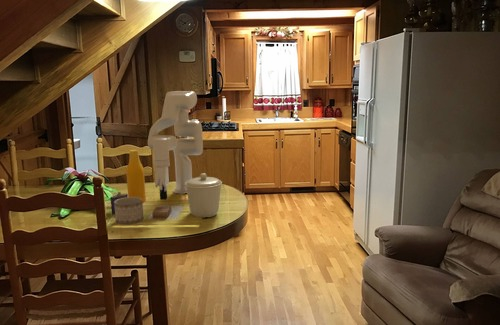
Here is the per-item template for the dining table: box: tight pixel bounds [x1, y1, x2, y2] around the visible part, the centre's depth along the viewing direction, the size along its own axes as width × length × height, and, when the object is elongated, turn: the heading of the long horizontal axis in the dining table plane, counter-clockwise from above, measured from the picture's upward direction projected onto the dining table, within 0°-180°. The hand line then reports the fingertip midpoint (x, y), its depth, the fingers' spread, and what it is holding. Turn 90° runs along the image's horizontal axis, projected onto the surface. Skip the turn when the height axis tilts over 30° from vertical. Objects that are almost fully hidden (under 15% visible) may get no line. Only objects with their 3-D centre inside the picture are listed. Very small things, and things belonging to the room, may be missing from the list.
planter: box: [114, 197, 145, 225], centre depth 190 cm, size 13×13×10 cm
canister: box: [185, 172, 223, 219], centre depth 197 cm, size 18×18×21 cm
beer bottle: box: [125, 149, 147, 203], centre depth 217 cm, size 9×9×29 cm
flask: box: [109, 191, 128, 215], centre depth 203 cm, size 9×3×11 cm, turn 138°
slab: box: [151, 205, 172, 218], centre depth 196 cm, size 3×7×10 cm
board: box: [147, 205, 184, 220], centre depth 201 cm, size 20×14×1 cm
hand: (163, 199), depth 200 cm, fingers closed
